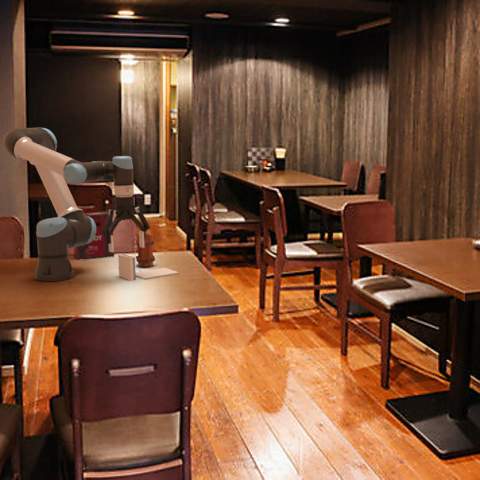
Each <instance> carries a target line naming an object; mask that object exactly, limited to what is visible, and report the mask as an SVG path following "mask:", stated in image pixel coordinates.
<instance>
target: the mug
mask: <svg viewBox="0 0 480 480" xmlns="http://www.w3.org/2000/svg"><path fill="white" fill-rule="evenodd" d="M139 231H141V230H140V229H139ZM136 237H137V239H136V240H135V243H136V245H137V256H135V262H136V263H137V266H139V267H142V268H146V267H147V268H149V267H152V266H153V264H154V262H155V261H156V257H155V255H154V253H153V252H154V249H153V248H154V247H153V246H154V244H155V241H154V238H153V234H152V233H151V232H146V239H144V247H145V248H142V247H140V246H139V233H138V234H137V235H136Z"/></svg>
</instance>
